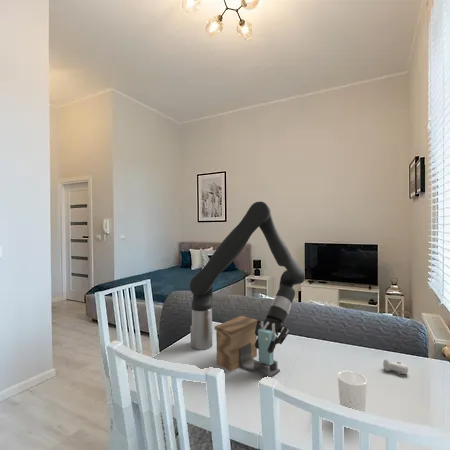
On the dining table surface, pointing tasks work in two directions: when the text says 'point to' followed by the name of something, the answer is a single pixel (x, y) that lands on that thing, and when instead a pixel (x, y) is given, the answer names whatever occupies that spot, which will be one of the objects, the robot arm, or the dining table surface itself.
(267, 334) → the tall teal block
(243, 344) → the hinge cabinet
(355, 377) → the white cup
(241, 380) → the dining table surface
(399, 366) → the pale two-lobed sculpture
